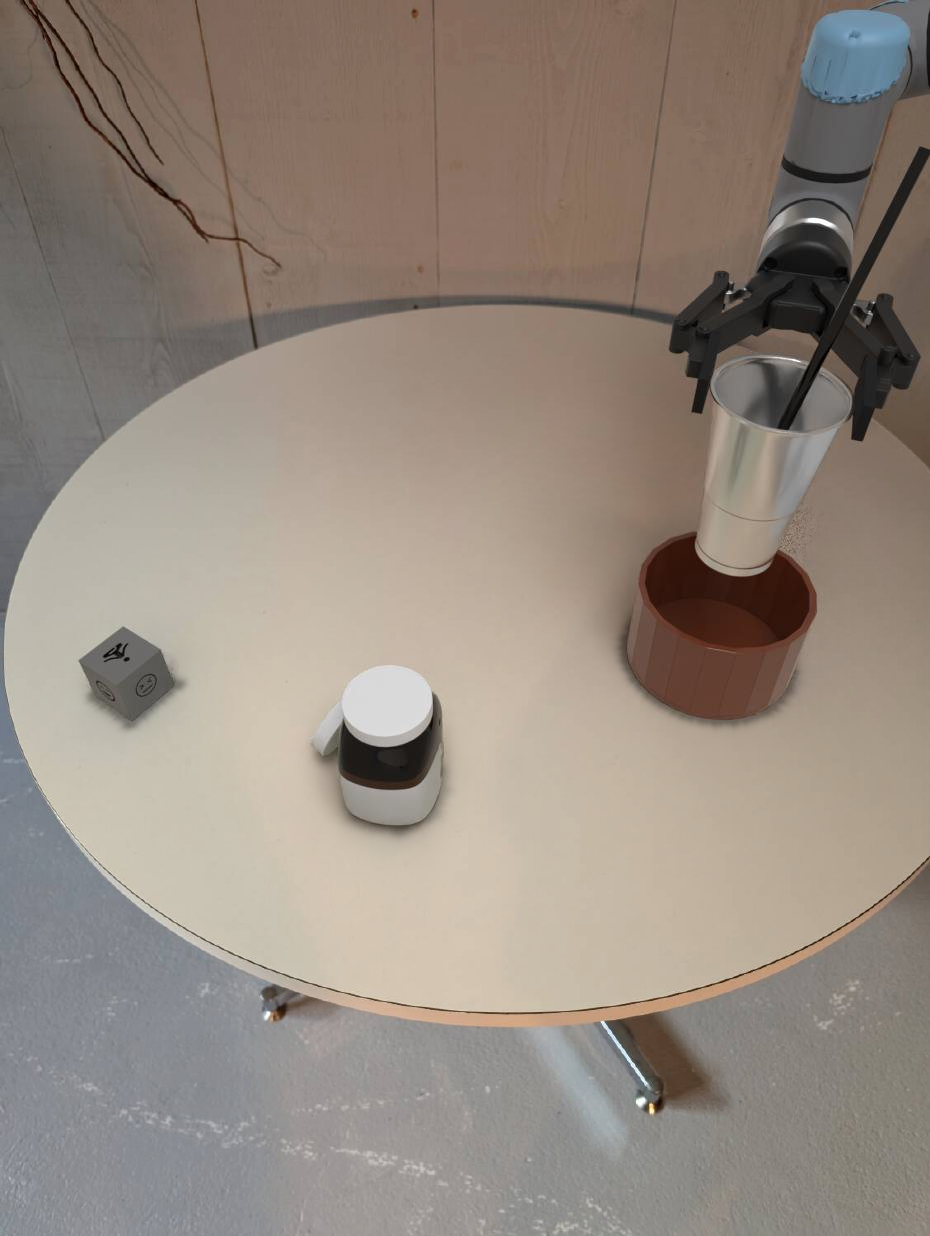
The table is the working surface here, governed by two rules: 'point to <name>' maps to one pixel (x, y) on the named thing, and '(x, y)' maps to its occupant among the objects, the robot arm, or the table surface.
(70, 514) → the table surface
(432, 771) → the spread jar
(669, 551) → the crock
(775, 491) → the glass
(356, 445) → the table surface
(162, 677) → the dice cube
